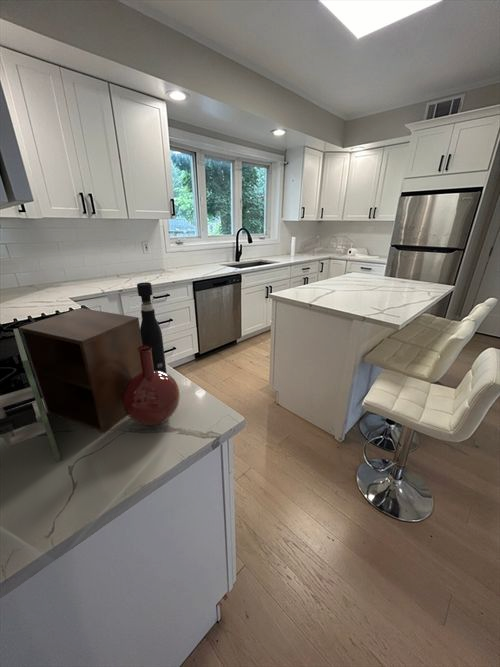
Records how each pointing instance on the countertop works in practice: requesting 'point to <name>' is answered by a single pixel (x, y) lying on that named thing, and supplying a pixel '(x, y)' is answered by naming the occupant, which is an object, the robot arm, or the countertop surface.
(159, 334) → the wine bottle
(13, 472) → the countertop surface
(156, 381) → the round-bottom flask
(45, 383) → the cupboard
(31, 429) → the cupboard door
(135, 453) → the countertop surface
